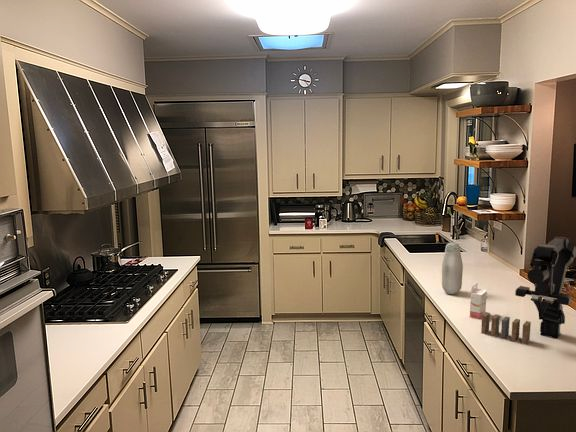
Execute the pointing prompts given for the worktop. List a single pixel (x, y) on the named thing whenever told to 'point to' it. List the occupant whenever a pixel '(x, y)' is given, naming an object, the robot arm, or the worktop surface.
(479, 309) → the ink cartridge box
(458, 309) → the worktop surface
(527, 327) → the domino
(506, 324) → the gray domino
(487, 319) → the domino
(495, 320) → the domino
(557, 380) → the worktop surface
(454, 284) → the gray bottle
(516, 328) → the domino
